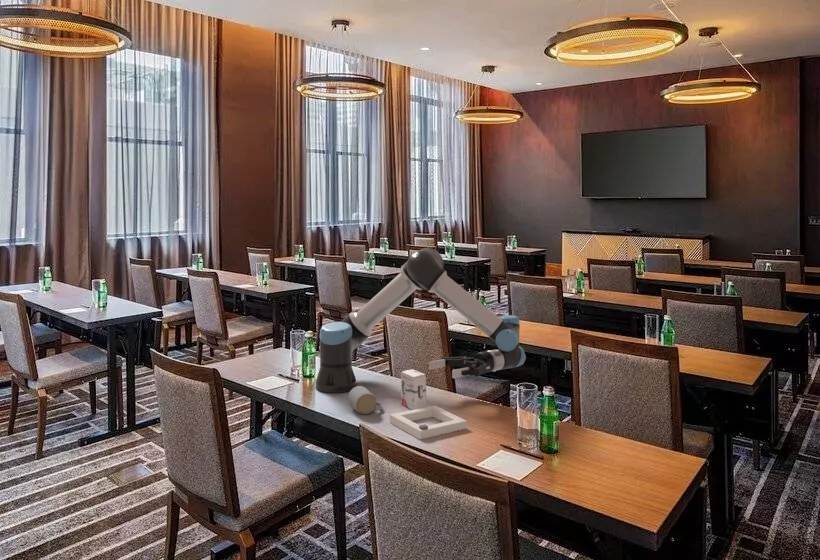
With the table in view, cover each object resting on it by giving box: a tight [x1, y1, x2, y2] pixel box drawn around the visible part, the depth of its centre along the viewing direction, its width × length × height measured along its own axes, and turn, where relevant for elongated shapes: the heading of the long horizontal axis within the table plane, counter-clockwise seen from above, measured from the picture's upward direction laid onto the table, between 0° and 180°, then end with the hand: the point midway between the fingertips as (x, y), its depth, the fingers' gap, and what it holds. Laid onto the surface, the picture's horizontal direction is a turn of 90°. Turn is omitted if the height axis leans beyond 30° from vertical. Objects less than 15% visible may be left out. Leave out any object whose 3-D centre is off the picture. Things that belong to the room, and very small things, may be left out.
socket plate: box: [389, 405, 468, 440], centre depth 191 cm, size 17×17×3 cm
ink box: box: [400, 368, 427, 410], centre depth 207 cm, size 9×5×12 cm, turn 34°
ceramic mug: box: [347, 385, 383, 415], centre depth 203 cm, size 11×8×8 cm
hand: (440, 369), depth 213 cm, fingers open, 13 cm apart
